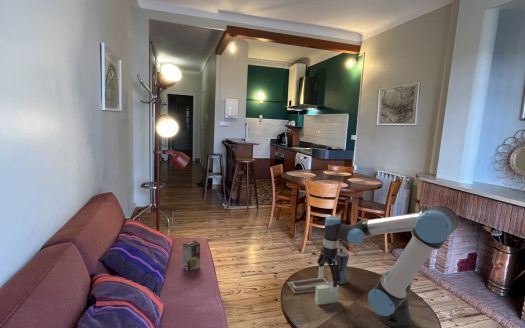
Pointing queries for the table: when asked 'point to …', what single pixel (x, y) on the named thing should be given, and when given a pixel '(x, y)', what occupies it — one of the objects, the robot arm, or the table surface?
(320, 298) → the pale green block
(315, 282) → the grey rectangular tray
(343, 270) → the moka pot
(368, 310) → the table surface
